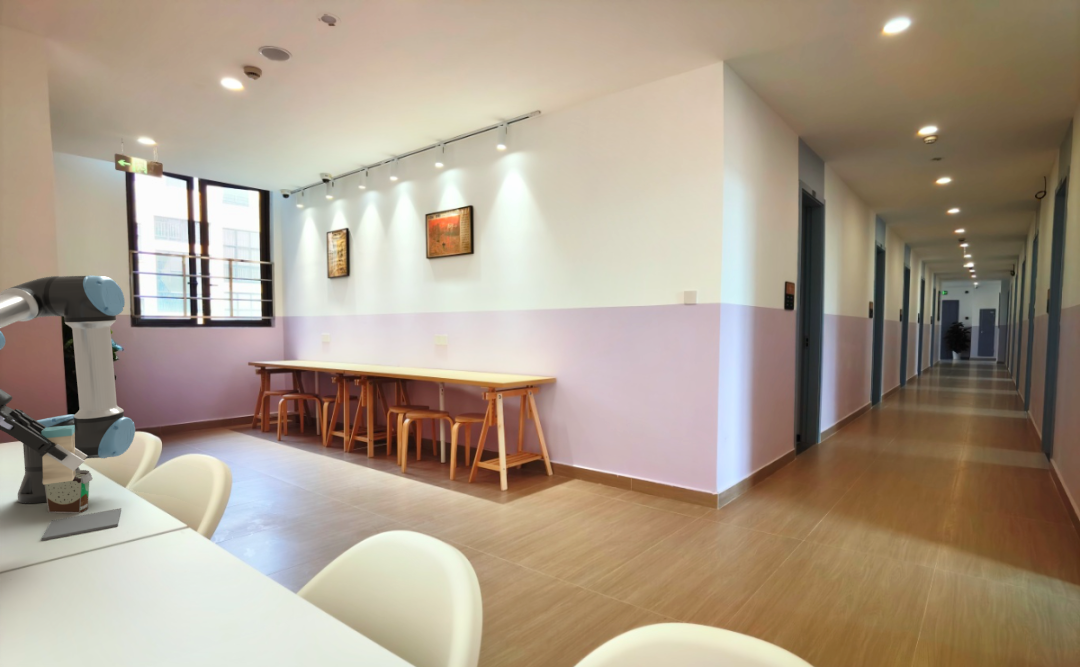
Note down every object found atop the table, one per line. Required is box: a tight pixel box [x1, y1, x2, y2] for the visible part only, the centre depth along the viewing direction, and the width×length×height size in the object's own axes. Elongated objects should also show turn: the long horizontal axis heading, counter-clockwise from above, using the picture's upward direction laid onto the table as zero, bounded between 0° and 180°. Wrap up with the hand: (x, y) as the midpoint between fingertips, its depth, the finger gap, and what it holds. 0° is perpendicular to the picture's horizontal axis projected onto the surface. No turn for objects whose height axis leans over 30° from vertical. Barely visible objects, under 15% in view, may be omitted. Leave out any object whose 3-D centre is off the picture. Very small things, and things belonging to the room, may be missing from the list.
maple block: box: [41, 425, 75, 485], centre depth 123 cm, size 5×5×12 cm
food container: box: [42, 469, 93, 514], centre depth 146 cm, size 12×6×10 cm, turn 84°
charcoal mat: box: [40, 507, 122, 542], centre depth 135 cm, size 14×14×1 cm
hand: (80, 463), depth 125 cm, fingers closed on maple block, 5 cm apart
